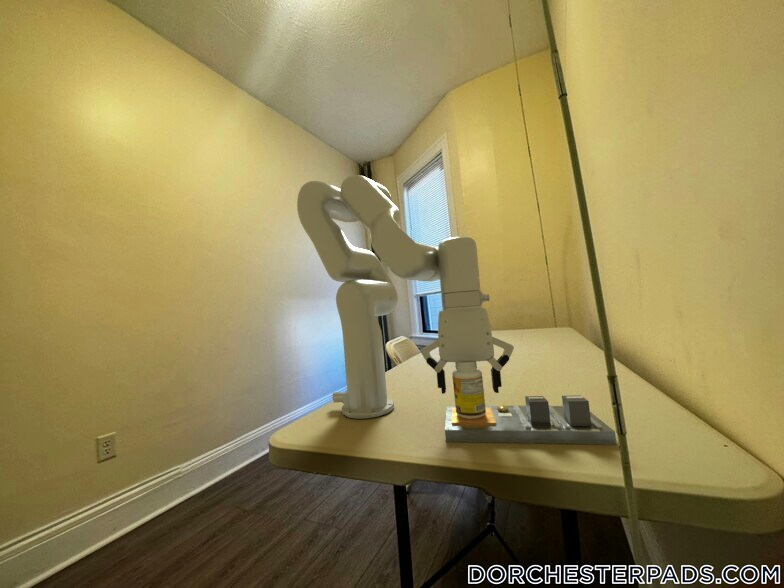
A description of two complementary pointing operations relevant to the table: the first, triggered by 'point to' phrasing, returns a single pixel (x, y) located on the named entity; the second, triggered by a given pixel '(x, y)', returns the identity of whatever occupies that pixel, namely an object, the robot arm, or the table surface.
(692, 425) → the table surface
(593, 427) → the panel
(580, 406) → the block
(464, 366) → the supplement bottle
